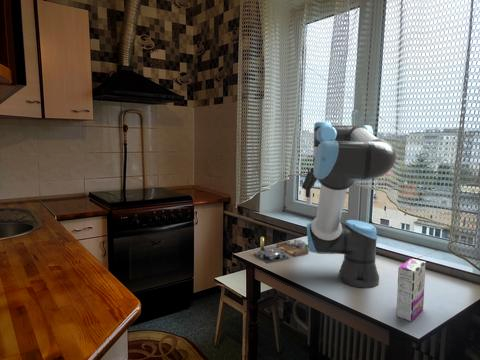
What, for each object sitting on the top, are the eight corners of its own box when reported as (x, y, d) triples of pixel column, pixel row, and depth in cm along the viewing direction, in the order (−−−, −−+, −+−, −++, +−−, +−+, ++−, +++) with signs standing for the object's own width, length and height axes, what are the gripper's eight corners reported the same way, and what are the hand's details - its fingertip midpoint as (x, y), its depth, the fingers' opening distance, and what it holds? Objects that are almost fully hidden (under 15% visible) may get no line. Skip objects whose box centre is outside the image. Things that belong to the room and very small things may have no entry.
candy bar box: (407, 304, 111) (410, 257, 109) (423, 309, 108) (427, 261, 106) (394, 316, 103) (397, 266, 101) (411, 322, 100) (415, 271, 98)
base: (289, 258, 154) (289, 256, 154) (267, 263, 148) (267, 261, 148) (274, 251, 164) (274, 249, 164) (253, 255, 158) (253, 253, 158)
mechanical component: (291, 243, 162) (309, 244, 165) (282, 238, 172) (299, 239, 175) (291, 249, 162) (308, 250, 165) (282, 244, 172) (298, 244, 175)
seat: (308, 254, 160) (308, 249, 159) (295, 257, 156) (295, 252, 156) (288, 245, 173) (289, 241, 173) (276, 247, 169) (276, 243, 169)
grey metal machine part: (269, 261, 147) (270, 244, 146) (252, 253, 157) (252, 237, 156) (290, 255, 154) (290, 239, 153) (272, 248, 165) (272, 233, 164)
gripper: (305, 157, 138) (304, 206, 141) (347, 156, 150) (346, 201, 153) (294, 156, 145) (293, 204, 147) (335, 155, 157) (334, 199, 159)
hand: (320, 203), depth 150 cm, fingers open, 13 cm apart
